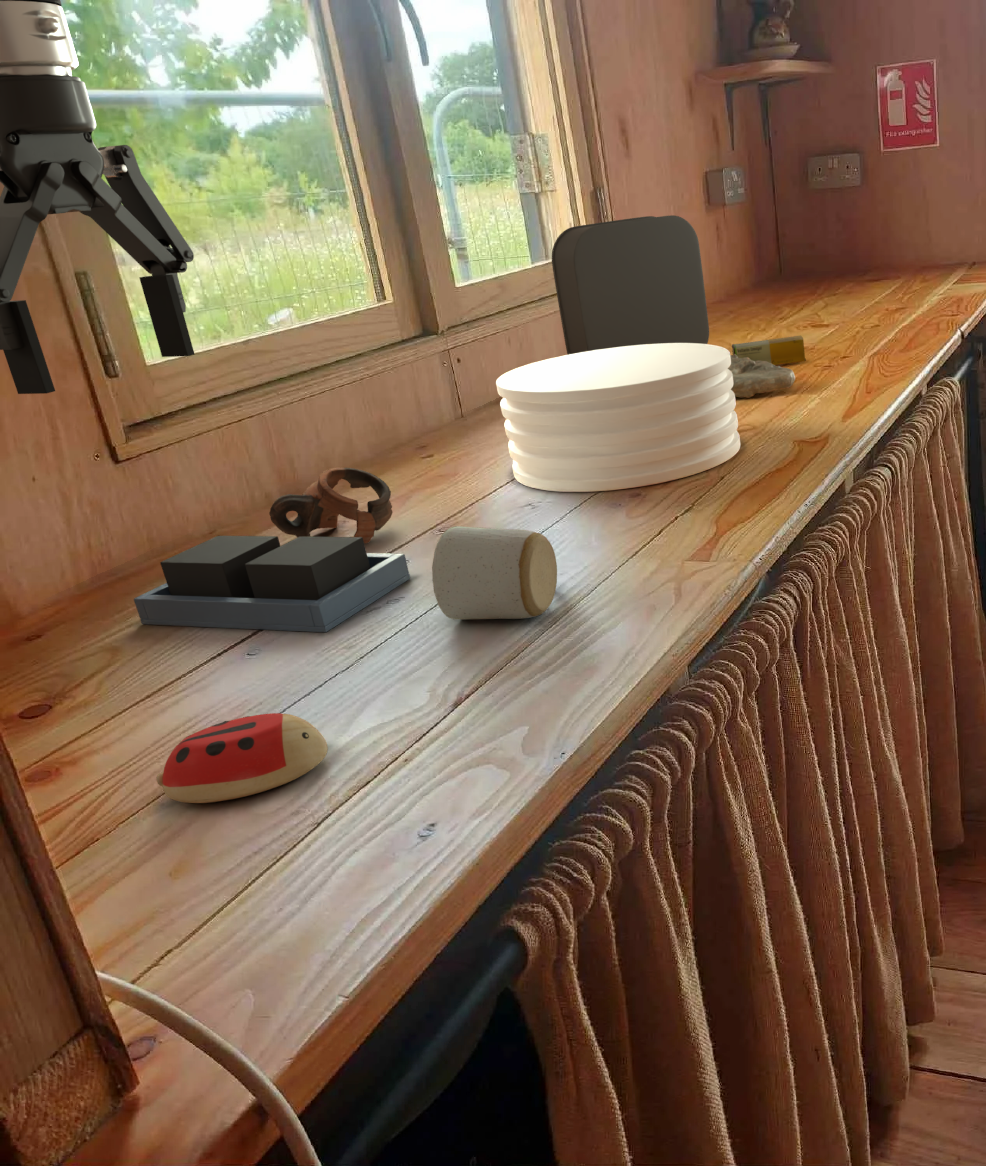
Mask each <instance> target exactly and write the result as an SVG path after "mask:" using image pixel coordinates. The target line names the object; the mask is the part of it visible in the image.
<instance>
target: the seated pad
mask: <svg viewBox="0 0 986 1166" xmlns="http://www.w3.org/2000/svg"><path fill="white" fill-rule="evenodd" d="M280 546H281V543H280V539H279V536H277V535H217V536H214V537H212V538H210V539H208V540H206V541H204V542H201V543H199V544H197V545H194V546H193V547H190V548H188V549H186V550H183V551H181V552H180V553H177V554H175V555H172V556H171V557H168V558H167V559H164V560H162V561H160V562H159V563H160V566H161V569H162V573H163V575H164V578H165V581H166V582H165V583H167V585H168V588H169V591H170V594H171V595H173V596H203V597H232V598H255V597H254V593H253V590H252V587H251V583H250V580H249V576H248V573H247V570H246V566H245V564H246V563H248V562H250V561H252V560H254V559H256V558H258V557H260V556H262V555H264V554H266V553H268V552H270V551H272V550H274V549H276V548H278V547H280Z"/></svg>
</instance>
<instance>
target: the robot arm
mask: <svg viewBox="0 0 986 1166" xmlns="http://www.w3.org/2000/svg"><path fill="white" fill-rule="evenodd" d="M62 6H63V4H62V1H61V0H0V184H2V186H3V189H2V190H1V193H0V351H3V354H4V357H5V359H6V362H7V365H8V368H9V372H10V374H11V377H12V381H13V383H14V385H15V389H16V392H17V395H35V394H36V395H38V394H39V395H42V394H51V393H54V392H56V388H55V386H54V382H53V379H52V377H51V373H50V369H49V368H48V364H47V361H46V358H45V355H44V351H43V349H42V345H41V342H40V340H39V337H38V333H37V331H36V328H35V324H34V322H33V318H32V315H31V313H30V309H29V306H28V303H27V300H25V299H23V300H12V299H13V297H14V294H15V291H16V289H17V286H18V283H19V280H20V277H21V274H22V273H23V269H24V266H25V263H26V261H27V258H28V255H29V252H30V250H31V247H32V244H33V241H34V239H35V236H36V233H37V231H38V228H39V225H40V224H41V222H43V221H44V220H45V219H46V218H47V217H48V215H57V214H59V215H60V214H66V213H77V212H79V213H81V214H82V215H84V216H87V217H89V218H90V219H91V220H92V221H94V223H96V224H97V225H98V227H100V228H101V230H103V231H104V232H105V233H106V234H107V235H108V236H109V237H110V238H111V239H112V240H113V241H114V242H115V243H117V244H118V245H119V246H120V247H121V248H122V249H123V250H124V252H126V253H127V254H128V255H129V256H130V257H131V258H132V259H133V260H134V261H135V262H136V263H137V264H138V265H140V266H141V268H143V270H145V272H147V273H148V274H149V275H144V276H140V277H138V278H139V281H140V285H141V288H142V292H143V296H144V299H145V302H146V306H147V310H148V314H149V316H150V320H151V324H152V327H153V330H154V333H155V334H154V335H155V337H156V341H157V345H158V348H159V352H160V354H161V358H170V357H171V358H173V357H174V358H176V357H190V356H194V355H195V351H194V348H193V343H192V340H191V339H192V338H191V336H190V333H189V329H188V325H187V321H186V318H185V315H184V313H186V311H187V310H186V309H187V307H186V305H187V304H186V301H185V298H184V293H183V291H182V287H181V283H180V280H179V276H178V274H182V273H185V272H186V271H187V270H188V263H191V262H193V260H194V258H195V254H194V252H193V250H192V248H191V247H190V245H189V244H188V242H187V240H186V239H185V238H184V236H183V235H182V233H181V231H180V230H179V228H178V227H177V226H176V224H175V222H174V221H173V219H172V218H171V216H170V215H169V213H168V212H167V210H166V209H165V208H164V206H163V204H162V203H161V201H160V200H159V199H158V197H157V195H156V194H155V193H154V191H153V190H152V188H151V186H150V185H149V183H148V181H146V179H145V178H144V176H143V174H142V172H141V169H140V167H139V163H138V161H137V158H136V156H135V153H134V149H132V148H131V146H130V145H128V144H120V145H108V146H100V147H98V148H97V146H96V144H95V143H94V140H93V137H92V135H93V132H94V131H95V130H96V128H97V122H96V121H97V120H96V118H95V115H94V111H93V107H92V103H91V99H90V98H89V94H88V90H87V86H86V83H85V81H83V80H81V78H80V77H79V76H73V75H72V71H73V70H76V69H77V67H78V66H79V65H80V64H79V60H78V56H77V53H76V50H75V46H74V43H73V39H72V35H71V33H70V28H69V26H68V22H67V19H66V15H65V12H64V8H63V7H62ZM103 175H104V178H105V179H106V181H105V180H104V179H103V178H102V177H103Z"/></svg>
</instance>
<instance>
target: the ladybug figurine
mask: <svg viewBox="0 0 986 1166" xmlns="http://www.w3.org/2000/svg"><path fill="white" fill-rule="evenodd" d="M328 749H329V747H328V743H327V740H326V738H325V737H324V735H323V734H322V733H321V732H320V730H318V729H317V727H316V726H315V725H313V724H312V723H310V722H309V721H307V720H306V719H304V718H302V717H299V716H296V715H294V714H289V713H281V712H280V713H277V712H272V713H261V714H254V715H247V716H242V717H239V718H234V719H231V720H224V721H222V722H219V723H216V724H212V725H210V726H208V727H206V728H202V729H200V730H198V731H196V732H194V733H192V734H189V735H187V736H186V737H184V738H183V739H182V740H180V742H179V743H178V744H176V746H175V747H174V748H173V749H172V751H171V752H170V754H169V756H168V757H167V759H166V761H165V764H164V766H163V771H161V772H159V773H158V774H157V775H156V777H155V778H156V783H157V785H159V786H160V787H162V789H163V792H164V794H165V796H166V797H167V798H168V799H171V800H172V801H176V802H180V803H186V804H207V803H216V802H222V801H229V800H235V799H240V798H244V797H248V796H252V795H255V794H259V793H263V792H266V791H269V790H272V789H275V788H277V787H280V786H282V785H283V786H284V785H286V784H288V783H290V782H292V781H294V780H296V779H299V778H300V777H302V776H304V775H306V774H307V773H308V772H311V770H313V769H315V768H316V767H317V766H318V765H319V764H320V763H321V762H322V761H323V760H324V759H325V758H326V756H327V754H328Z"/></svg>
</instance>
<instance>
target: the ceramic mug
mask: <svg viewBox="0 0 986 1166" xmlns="http://www.w3.org/2000/svg"><path fill="white" fill-rule="evenodd" d="M436 543H437V544H436V546H435V549H434V552H433V558H432V565H431V572H432V573H431V575H432V576H431V577H432V586H433V587H432V588H433V593H434V596H435V600H436V602H437V605H438V607H439V609H440V611H441V612H442V613H443V615H444V616H446V617H447V618H449V619H451V620H499V619H501V620H503V619H507V620H515V619H516V620H517V619H529V618H535V617H538V616H541V615H542V614H544V613H545V612H547V610H548V609H549V607H550V606H551V604H552V603H553V600H554V598H555V593H556V589H557V582H558V564H557V557H556V552H555V549H554V548H553V546H552V543H551V541H550V540H549V539H548V538H547V537H546V536H545V535H543V534H542V533H539V532H535V531H532V530H528V529H518V528H494V527H493V528H492V527H477V526H475V527H474V526H461V525H459V526H458V525H454V526H451V527H449V528H447V529H445V531H444V532H443V533H442V535H441V536H440V538H439V539H438V541H437V542H436Z"/></svg>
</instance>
